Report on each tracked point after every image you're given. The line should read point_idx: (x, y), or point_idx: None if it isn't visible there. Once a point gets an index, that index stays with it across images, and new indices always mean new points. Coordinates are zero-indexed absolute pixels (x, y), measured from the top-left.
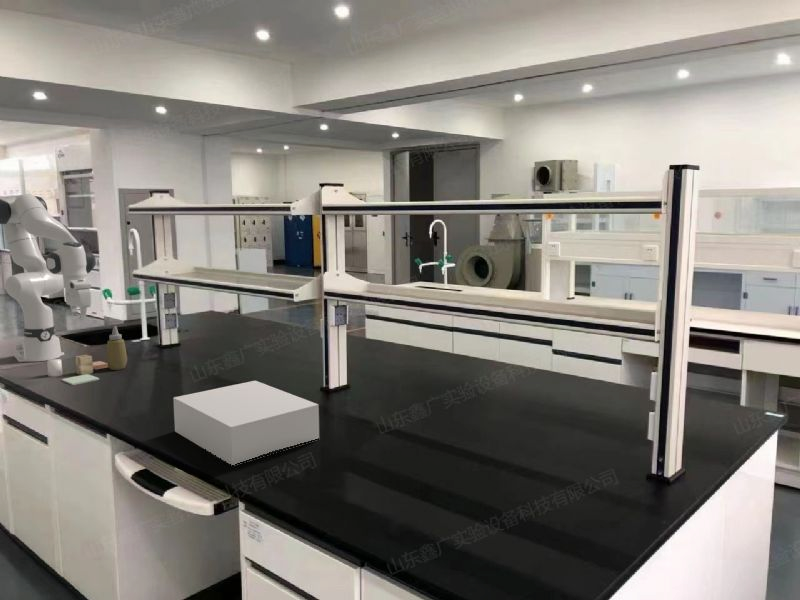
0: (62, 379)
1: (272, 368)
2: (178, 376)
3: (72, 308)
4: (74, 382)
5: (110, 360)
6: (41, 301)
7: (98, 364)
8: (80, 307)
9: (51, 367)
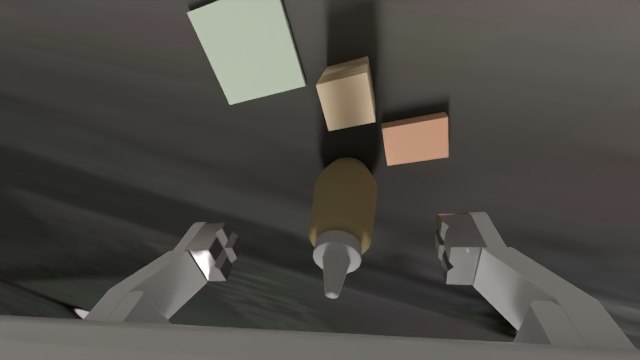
0: None
1: (202, 325)
2: None
3: (533, 295)
4: (202, 21)
5: (325, 173)
6: None
7: (395, 141)
8: (10, 317)
9: None
